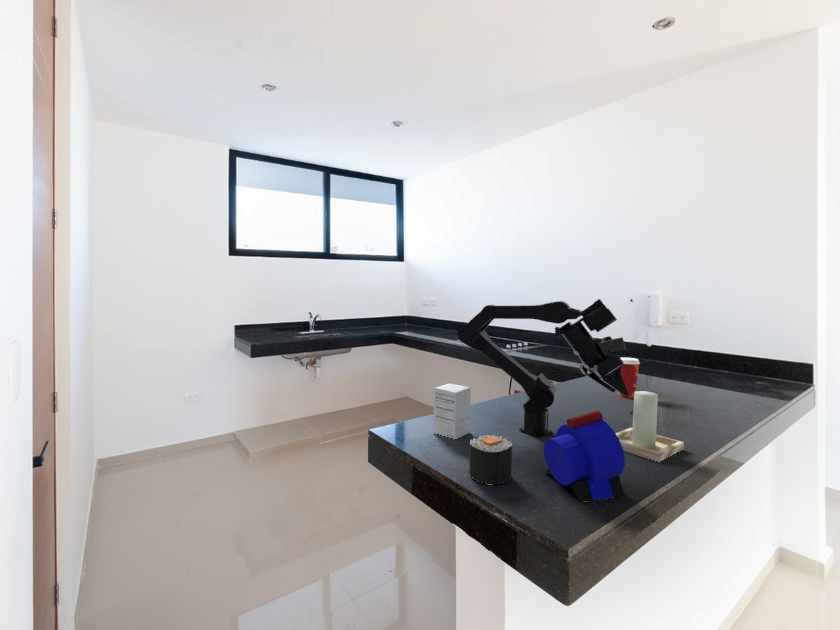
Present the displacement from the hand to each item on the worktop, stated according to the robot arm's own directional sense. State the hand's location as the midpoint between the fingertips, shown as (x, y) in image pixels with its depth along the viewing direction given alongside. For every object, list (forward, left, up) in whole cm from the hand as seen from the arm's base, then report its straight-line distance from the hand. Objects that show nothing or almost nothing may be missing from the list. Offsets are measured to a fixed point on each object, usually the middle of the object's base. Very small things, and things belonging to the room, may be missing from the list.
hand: (620, 392), depth 105 cm
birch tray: (+3, -5, -13) cm, 14 cm away
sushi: (-41, +5, -13) cm, 43 cm away
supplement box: (-31, +29, -13) cm, 45 cm away
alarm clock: (-29, -8, -13) cm, 33 cm away
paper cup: (+49, +23, -13) cm, 56 cm away
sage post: (+3, -5, -13) cm, 14 cm away
